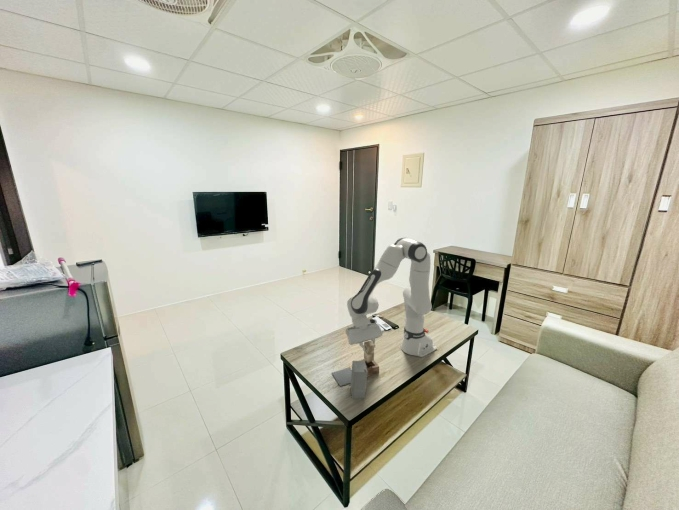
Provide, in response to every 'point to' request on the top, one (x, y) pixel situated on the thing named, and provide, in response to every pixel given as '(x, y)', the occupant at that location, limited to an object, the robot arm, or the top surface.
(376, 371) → the walnut pocket
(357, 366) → the skincare box
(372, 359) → the birch peg block
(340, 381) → the slate mat
